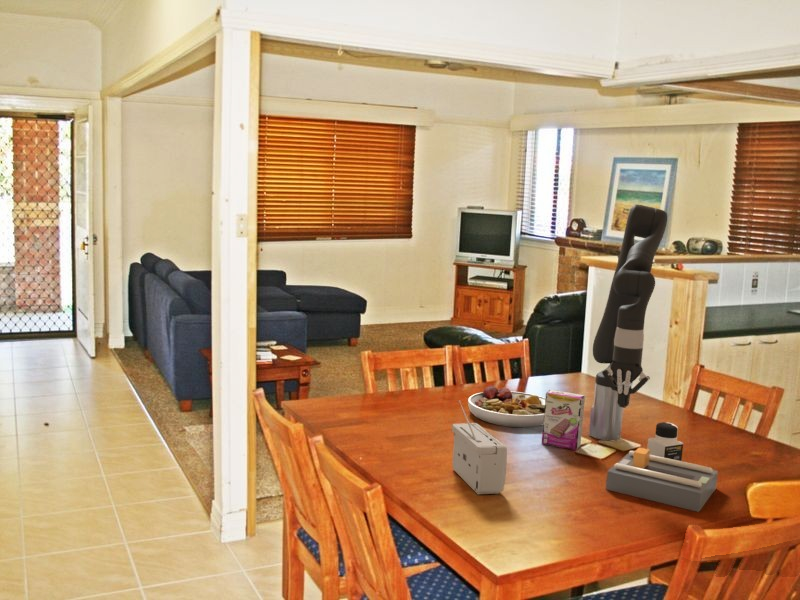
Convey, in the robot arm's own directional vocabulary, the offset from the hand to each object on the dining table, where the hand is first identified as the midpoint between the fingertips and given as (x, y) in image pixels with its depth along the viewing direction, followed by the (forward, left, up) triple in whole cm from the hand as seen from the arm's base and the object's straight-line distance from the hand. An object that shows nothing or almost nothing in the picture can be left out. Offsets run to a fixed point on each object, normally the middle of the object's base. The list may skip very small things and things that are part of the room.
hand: (622, 406), depth 232 cm
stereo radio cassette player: (-30, -27, -21) cm, 45 cm away
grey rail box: (+12, 0, -20) cm, 24 cm away
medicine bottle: (+7, +21, -21) cm, 30 cm away
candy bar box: (-23, +17, -21) cm, 35 cm away
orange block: (+6, 0, -15) cm, 17 cm away
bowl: (-48, +36, -21) cm, 63 cm away
